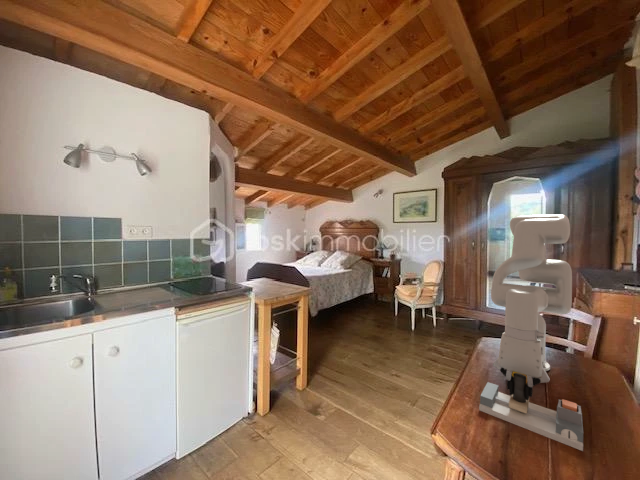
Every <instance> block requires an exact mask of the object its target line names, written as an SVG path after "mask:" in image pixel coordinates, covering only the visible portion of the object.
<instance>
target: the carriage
mask: <svg viewBox="0 0 640 480" xmlns="http://www.w3.org/2000/svg"><path fill="white" fill-rule="evenodd" d="M525 386H526V376H525V375H523V374H519V373H514V374H513V395H510V396H511V398H510V401H509V407H510V408H512V409H515V410H518V411H521V412H523V413H526V414H527V409H528V405H529V402H530V399H529V400H526V399H525Z"/></svg>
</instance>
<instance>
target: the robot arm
mask: <svg viewBox="0 0 640 480" xmlns="http://www.w3.org/2000/svg"><path fill="white" fill-rule="evenodd" d="M509 228H510V231H511V234H512V236H513V241H512V250H511V256H510V257H509V258H507V259H505V260H504V261H503V262H502V263H501V264H500V265H498V267H497V268H496V269H495V271H494V274H493V275H492V276H493V277H492V283H491V289H490V299H491V301H492V303H493V304H494V305H496V306H498V307H502V308H504V310H505V313H504V315H505V319H504V332H502V335H501V338H500V343H499V350H498V357H497V358H496V359H495V361H494V362H493V363H492V365H493V367H494V368H496V370H497V369H498V371H500V372H501V374H502V375H503V376H504V377H505V380H507V381H506V390H508V391H509V393H508V395H510V396H511V395H513V376H512V374H513V371H514V372H517V373H521V374H524V375H527V383H526V386H525V399H526V400H529V401H530V398H532V397H533V388H534V386H537V385H539V384H541V383H549V382H550V380H551V379H550V376H549V375H548V373H547V371H550V370H551V365H550V364H549V363H548V362H547V361H546V340H547V339H546V334H547V333H546V332H547V331H546V330H547V323H546V320H545V319H544V317H543V316H542V315H541V314H540V313H541V312H543V313H551V314H556V315H567V314H569V313H570V312H571V310H572V305H573V302H572V301H573V298H572V297H573V272H572V266H571V265H570V264H569V262H567V261H565V260H563V259H562V260H561V259H548V258H547V255H546V254H547V247H546V245H545V244H552V245H553V244H559V245H560V244H565V243H567V242H568V240H569V239H570V236H571V225H570V220H569V217H568V216H567V215H565V214H532V215H531V214H529V215H526V214H525V215H519V216H515V217H511V219H510V221H509ZM517 272H518V277H519V279H520V280H521V281H523V282H527V283H534V284H544V285H551V286H552V285H553V286H555V287H547V286H540V285H539V286H538V285H528V284H527V285H526V284H524V285H523V284H514V283H504V281H505V279H506V278H507V277H508V276H510V275H512V274H514V273H517Z"/></svg>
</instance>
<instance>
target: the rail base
mask: <svg viewBox="0 0 640 480" xmlns="http://www.w3.org/2000/svg"><path fill="white" fill-rule="evenodd" d="M499 387H500V386H499V384H495V383H493V382H489V381H487V383H486V384H485V386H484V388H483V389H482V391H481V394H480V395H479V396H480V399H479V401H480V402H479V405H478V406H479V407H478V408H479V409H478V411H480V412H483V413H485V414H488V415H490V416H493V417H495V418H498V419H500V420H503V421H506V422H508V423H509V424H510V423H511V424H513V425H515V426H518V427H520V428H524V429H525V430H529V431H531V432H533V433H536V434H538V435H541V436H543V437H546V438H548V439H551V440H553V441H556V442H558V443H561V444H563V445H566V446H569V447H572V448H573V449H577V450H579V451H581V452H584V426H583V425H584V424H583V412H582V406H581V405H578V404H577V412H575V411H572V410H569V409H566V408H563V407H562V399H558V402H557V405H556V410H554V409H551V408H548V407H544V406H542V405H538V404H535V403H533V402H530V401H529V405H528V409H527V414H526V413H523V412H521V411H518V410H515V409H512V408H510V407H509V401H510V398H511V395H510V394H506V393H503V392H501V391H499Z"/></svg>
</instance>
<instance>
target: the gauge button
mask: <svg viewBox="0 0 640 480" xmlns="http://www.w3.org/2000/svg"><path fill="white" fill-rule="evenodd" d="M561 400H562V407H563V408H566V409H569V410H572V411H575V412H577V405H578V404H577V403H576V402H574V401H570V400H566V399H563V398H562V399H561Z"/></svg>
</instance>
